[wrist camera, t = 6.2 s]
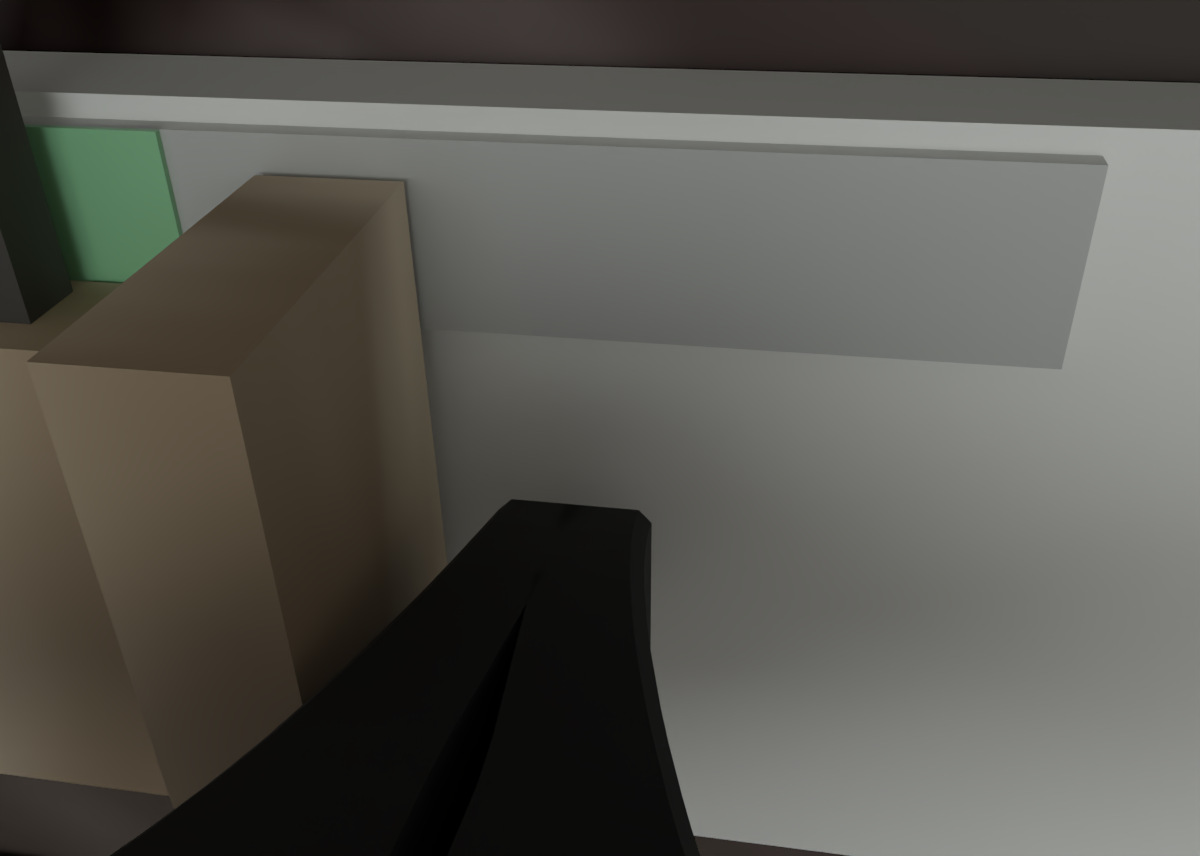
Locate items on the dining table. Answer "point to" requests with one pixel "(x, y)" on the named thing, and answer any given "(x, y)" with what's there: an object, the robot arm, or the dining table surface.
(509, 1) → the dining table surface
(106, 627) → the gauge carriage
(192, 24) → the dining table surface
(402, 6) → the dining table surface
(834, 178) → the gauge base
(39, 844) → the dining table surface
